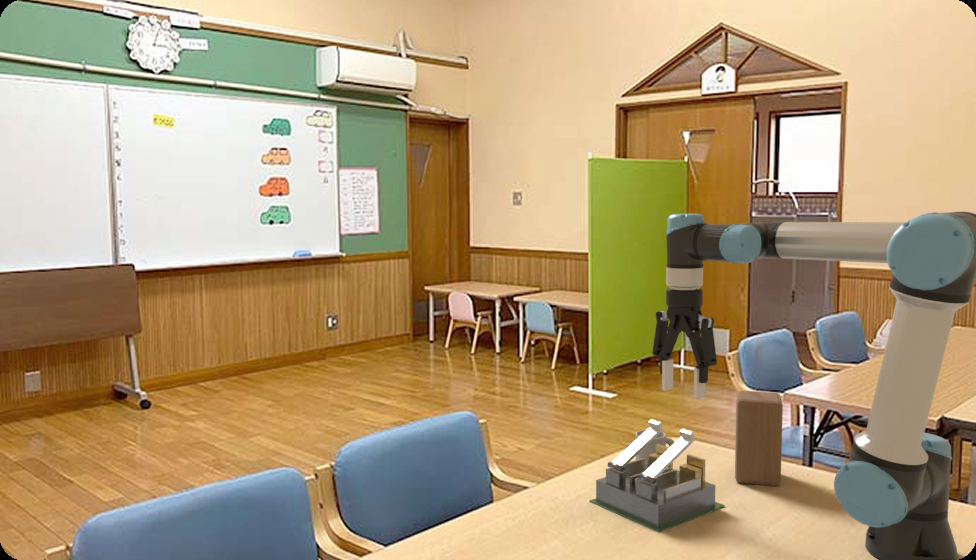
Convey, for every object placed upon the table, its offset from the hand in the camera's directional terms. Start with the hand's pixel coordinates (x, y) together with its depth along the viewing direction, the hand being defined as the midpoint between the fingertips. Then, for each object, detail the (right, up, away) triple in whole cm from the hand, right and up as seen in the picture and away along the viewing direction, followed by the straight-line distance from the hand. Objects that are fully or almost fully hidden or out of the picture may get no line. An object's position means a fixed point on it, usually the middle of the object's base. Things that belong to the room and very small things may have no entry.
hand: (683, 393), depth 168 cm
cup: (0, -23, +26) cm, 35 cm away
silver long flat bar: (-9, -13, +6) cm, 17 cm away
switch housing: (-5, -25, +4) cm, 26 cm away
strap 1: (-3, -14, -1) cm, 14 cm away
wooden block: (+22, -23, +19) cm, 37 cm away
